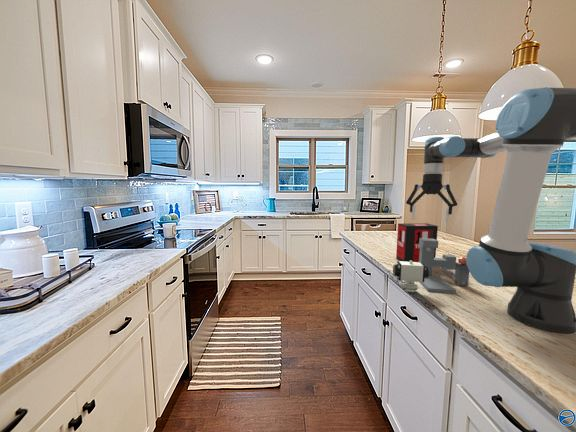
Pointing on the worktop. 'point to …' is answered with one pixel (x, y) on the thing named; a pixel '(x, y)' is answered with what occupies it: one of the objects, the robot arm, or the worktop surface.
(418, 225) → the cleaning product box
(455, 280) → the lever
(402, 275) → the pneumatic valve
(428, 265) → the press
